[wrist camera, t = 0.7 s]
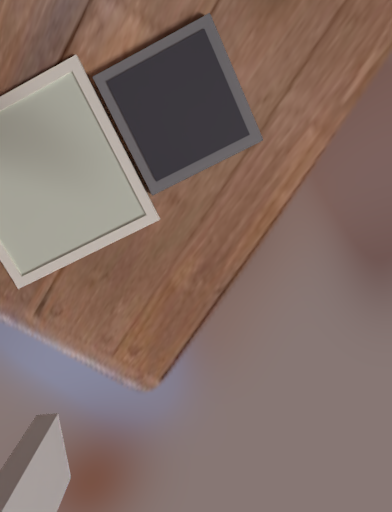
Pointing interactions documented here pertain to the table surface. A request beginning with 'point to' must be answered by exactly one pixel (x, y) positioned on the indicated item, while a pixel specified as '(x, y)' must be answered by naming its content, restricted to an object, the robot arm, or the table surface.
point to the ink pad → (179, 105)
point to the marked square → (62, 175)
